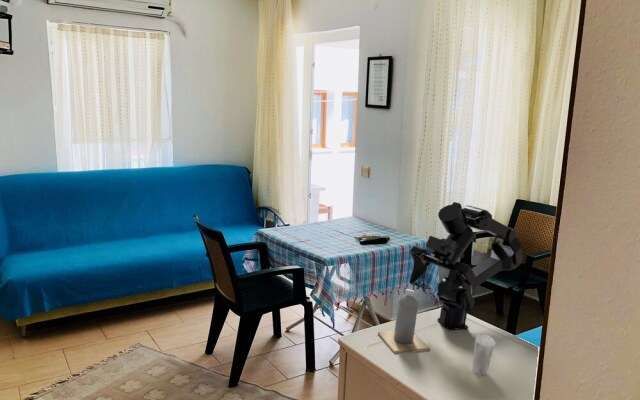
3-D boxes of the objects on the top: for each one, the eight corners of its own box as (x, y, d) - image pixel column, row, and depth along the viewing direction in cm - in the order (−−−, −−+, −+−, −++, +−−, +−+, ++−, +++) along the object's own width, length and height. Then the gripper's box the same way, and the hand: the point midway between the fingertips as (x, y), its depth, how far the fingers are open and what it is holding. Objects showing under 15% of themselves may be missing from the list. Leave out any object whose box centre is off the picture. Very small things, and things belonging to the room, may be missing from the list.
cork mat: (411, 331, 137) (411, 329, 137) (429, 350, 128) (429, 348, 128) (377, 334, 134) (377, 332, 134) (394, 353, 125) (394, 350, 124)
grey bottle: (412, 336, 133) (419, 287, 130) (413, 345, 128) (420, 295, 125) (393, 333, 133) (400, 285, 131) (393, 342, 129) (399, 292, 126)
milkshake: (494, 379, 117) (501, 340, 115) (470, 375, 118) (477, 335, 116) (492, 369, 121) (499, 331, 119) (469, 365, 122) (475, 327, 120)
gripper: (418, 217, 138) (385, 260, 134) (475, 235, 124) (441, 284, 120) (432, 241, 145) (401, 283, 140) (489, 261, 131) (457, 309, 126)
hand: (423, 289), depth 131 cm, fingers open, 9 cm apart
